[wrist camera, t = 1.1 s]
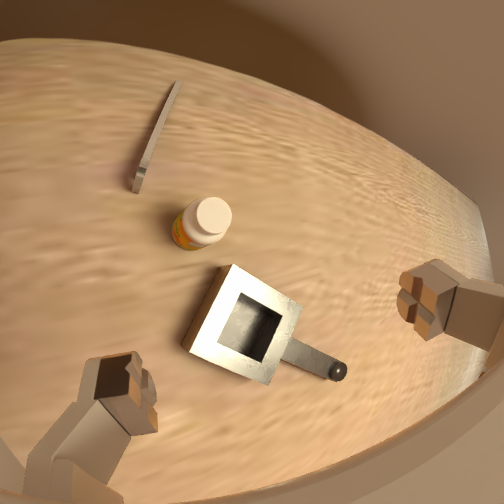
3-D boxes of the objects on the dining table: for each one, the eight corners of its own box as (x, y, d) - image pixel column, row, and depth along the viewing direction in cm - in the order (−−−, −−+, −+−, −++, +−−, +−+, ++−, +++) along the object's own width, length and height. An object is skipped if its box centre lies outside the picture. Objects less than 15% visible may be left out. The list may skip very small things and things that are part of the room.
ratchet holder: (180, 345, 37) (189, 352, 33) (220, 266, 41) (233, 264, 37) (319, 401, 46) (336, 408, 42) (345, 340, 50) (363, 342, 46)
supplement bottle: (173, 209, 39) (192, 186, 30) (210, 214, 41) (239, 195, 32) (169, 249, 38) (187, 236, 29) (207, 253, 40) (236, 243, 32)
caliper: (138, 195, 37) (143, 179, 31) (130, 193, 37) (135, 176, 31) (181, 84, 41) (193, 60, 36) (175, 81, 41) (186, 57, 35)
